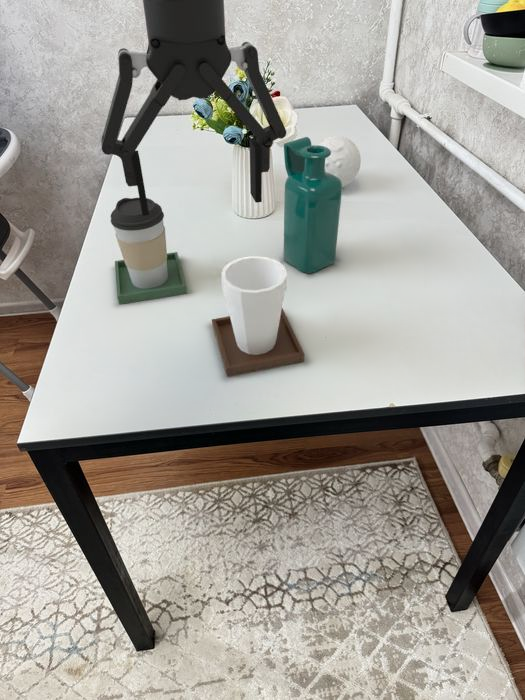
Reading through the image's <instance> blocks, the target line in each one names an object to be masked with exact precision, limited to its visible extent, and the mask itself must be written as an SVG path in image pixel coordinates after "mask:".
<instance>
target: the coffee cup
mask: <svg viewBox="0 0 525 700" xmlns="http://www.w3.org/2000/svg"><path fill="white" fill-rule="evenodd" d="M146 199H147V205H148V211H149V215H146V216H143V215H142V210H141V204H140V198H139V197H132V198H129V197H123V198H121V199H119V200H118V201H117V202H116V205H115V208H114V209H113V210H112V212H111V213H110V224H111V225H112V226H113V229H114V232H115V238H116V241H117V243H118V247H119V250H120V252H121V253H120V254H121V255H122V260H124V262H125V264H126V266H127V269H128V272H129V275H130V278H131V281H132V283H133V285H134V286H136V287H138V288H143V289H149V288H155V287H158V286H160V285H162V284H163V283H165V282H166V280H167V279H168V271H167V253H168V251H167V250H168V249H167V238H166V237H167V236H166V227H165V225H164V218H165V214H164V211H163V208H162V206H161V205H160V204H158V203H157V202H155V201H154V200H153V199H151V198H147V197H146Z"/></svg>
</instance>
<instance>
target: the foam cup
mask: <svg viewBox="0 0 525 700" xmlns="http://www.w3.org/2000/svg"><path fill="white" fill-rule="evenodd" d="M220 272H221V289H222V293H223V295H224V298H225V302H226V307H227V310H228V314H229V316H230V319H231V323H232V327H233V331H234V335H235V339H236V343H237V346H238V347H239V348H240V350H241V351H243V352H246V353H248V354H255V355H258V354H263V353H266V352H268V351H270V350H271V349H273V347H274V345H275V343H276V339H277V333H278V327H279V321H280V316H281V310H282V308H283V303H284V298H285V292H286V291H287V287H288V286H287V284H288V283H287V280H288V279H287V277H288V276H287V270H286V267H285V266H284V265H283V264H282V263H281V262H280V261H278V260H277V259H273V258H270V257H267V256H257V255H249V256H244V257H238V258H235V259H234V260H232V261H230V262H228V263H227V264H225V266H224V267H223V269H221V271H220Z"/></svg>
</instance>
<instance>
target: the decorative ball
mask: <svg viewBox="0 0 525 700" xmlns="http://www.w3.org/2000/svg"><path fill="white" fill-rule="evenodd" d="M317 145H319V146H324V147H327V148H328V149H330V150H331V155H330V156H329V157H327V158H325V171H326V172H328V173H330V174H332V175H334V176H336V177H338V178H339V179H340V180H341V182H342V189H343V188H345V187H347V186H348V185H350V184H351V183H353V181H354V180H355V179H356V177H357V176H358V174H359V172H360V169H361V163H362V161H361V160H362V158H361V153H360V150H359V149H358V146H357V144H355V143H354V142H353V140H351V139H349V138H347V137H345V136H341V135H333V136H329V137H326V138H325V139H323V140H321V141H320V142H319V143H317Z"/></svg>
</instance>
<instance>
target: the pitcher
mask: <svg viewBox="0 0 525 700" xmlns="http://www.w3.org/2000/svg"><path fill="white" fill-rule="evenodd" d="M330 155H331V150H330V149H328V148H327V147H324V146H319V145H318V144H316V145H313V144H312V141H311V138H310V137H308V136H304V137H301V138H298V139H293V140H291V141H287V142H285V143H283V157H284V166H285V171H286V174H287V178H286V180H285V182H284V203H283V204H284V210H283V259H284V261H285V262H286V263H288V264H289V265H291V266H293V267H294V268H295V269H297V270H298V271H301V272H302V273H304V274H313V273H315V272H318V271H320V270H322V269H325V268H326V267H328V266H330V265H333V264H334V263H335V261H336V255H337V245H338V244H337V243H338V236H339V235H338V234H339V226H340V217H341V216H340V214H341V204H342V194H343V188H342V182H341V180H340V179H339V178H338V177H336V176H334V175H332V174H330V173H328V172H326V171H325V158H327V157H329V156H330Z"/></svg>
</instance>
